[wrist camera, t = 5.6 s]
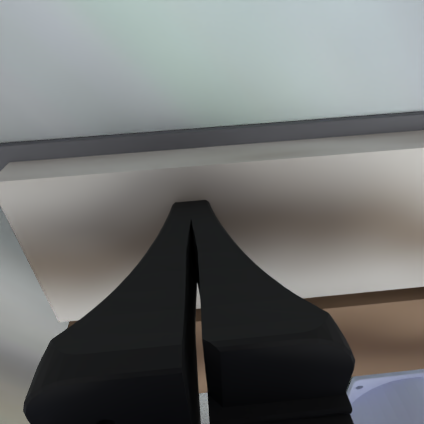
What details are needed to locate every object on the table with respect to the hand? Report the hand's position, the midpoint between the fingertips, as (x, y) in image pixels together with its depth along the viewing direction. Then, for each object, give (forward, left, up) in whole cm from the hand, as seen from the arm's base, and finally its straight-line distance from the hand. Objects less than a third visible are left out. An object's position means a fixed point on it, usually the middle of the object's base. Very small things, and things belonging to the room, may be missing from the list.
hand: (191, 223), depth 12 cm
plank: (-1, -5, -1) cm, 5 cm away
